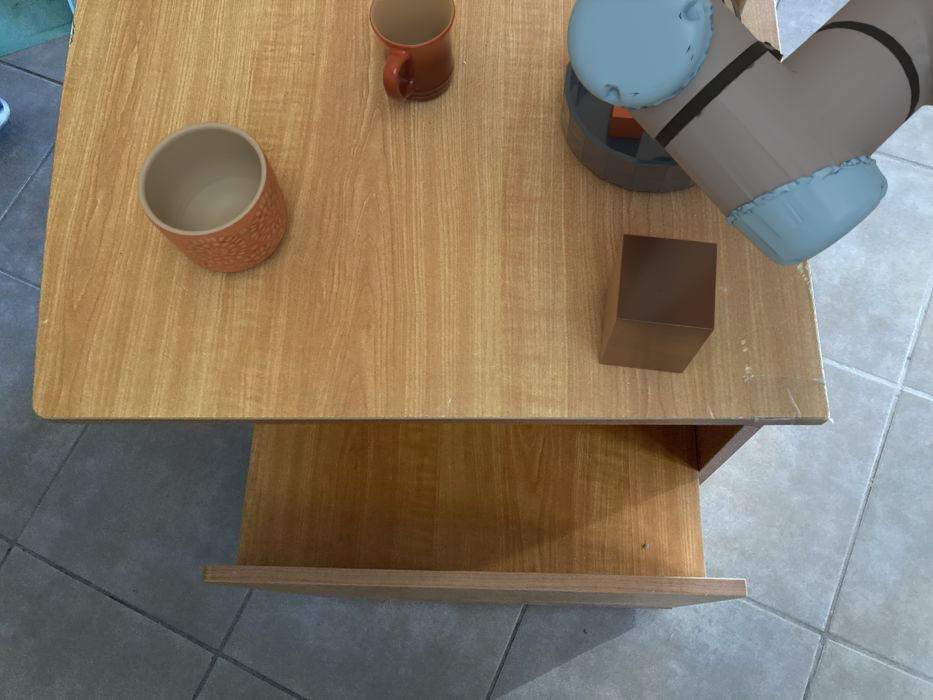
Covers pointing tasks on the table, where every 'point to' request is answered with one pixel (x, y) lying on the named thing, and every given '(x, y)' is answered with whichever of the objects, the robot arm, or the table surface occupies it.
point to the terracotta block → (624, 124)
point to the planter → (214, 196)
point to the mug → (415, 46)
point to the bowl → (615, 145)
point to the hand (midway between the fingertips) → (721, 37)
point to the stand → (659, 303)
